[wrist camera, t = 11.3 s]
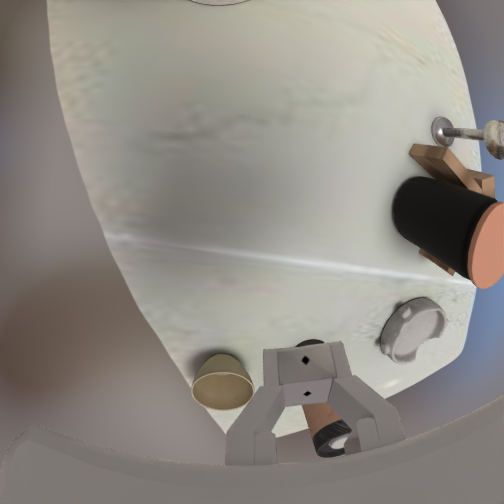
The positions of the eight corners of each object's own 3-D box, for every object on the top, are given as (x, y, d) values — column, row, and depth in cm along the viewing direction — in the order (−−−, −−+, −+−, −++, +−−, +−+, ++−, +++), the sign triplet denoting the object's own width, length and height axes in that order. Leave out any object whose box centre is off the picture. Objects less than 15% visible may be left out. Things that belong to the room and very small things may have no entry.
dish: (443, 305, 47) (456, 317, 43) (405, 355, 51) (416, 369, 47) (407, 283, 44) (422, 296, 39) (364, 342, 48) (375, 359, 43)
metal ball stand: (428, 118, 33) (507, 121, 18) (447, 116, 33) (523, 120, 18) (434, 148, 35) (512, 162, 20) (452, 144, 35) (527, 158, 20)
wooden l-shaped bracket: (407, 145, 35) (441, 148, 27) (458, 135, 34) (490, 139, 27) (419, 259, 42) (446, 279, 35) (465, 237, 42) (492, 252, 34)
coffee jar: (398, 249, 41) (470, 305, 24) (382, 190, 37) (470, 226, 20) (442, 223, 40) (516, 263, 23) (431, 166, 36) (517, 189, 19)
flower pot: (261, 353, 46) (266, 383, 39) (234, 387, 48) (236, 416, 42) (207, 334, 43) (206, 364, 36) (185, 371, 46) (182, 400, 39)
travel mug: (281, 349, 46) (308, 447, 27) (321, 331, 45) (366, 423, 27) (296, 374, 49) (324, 462, 30) (333, 357, 48) (372, 441, 29)
